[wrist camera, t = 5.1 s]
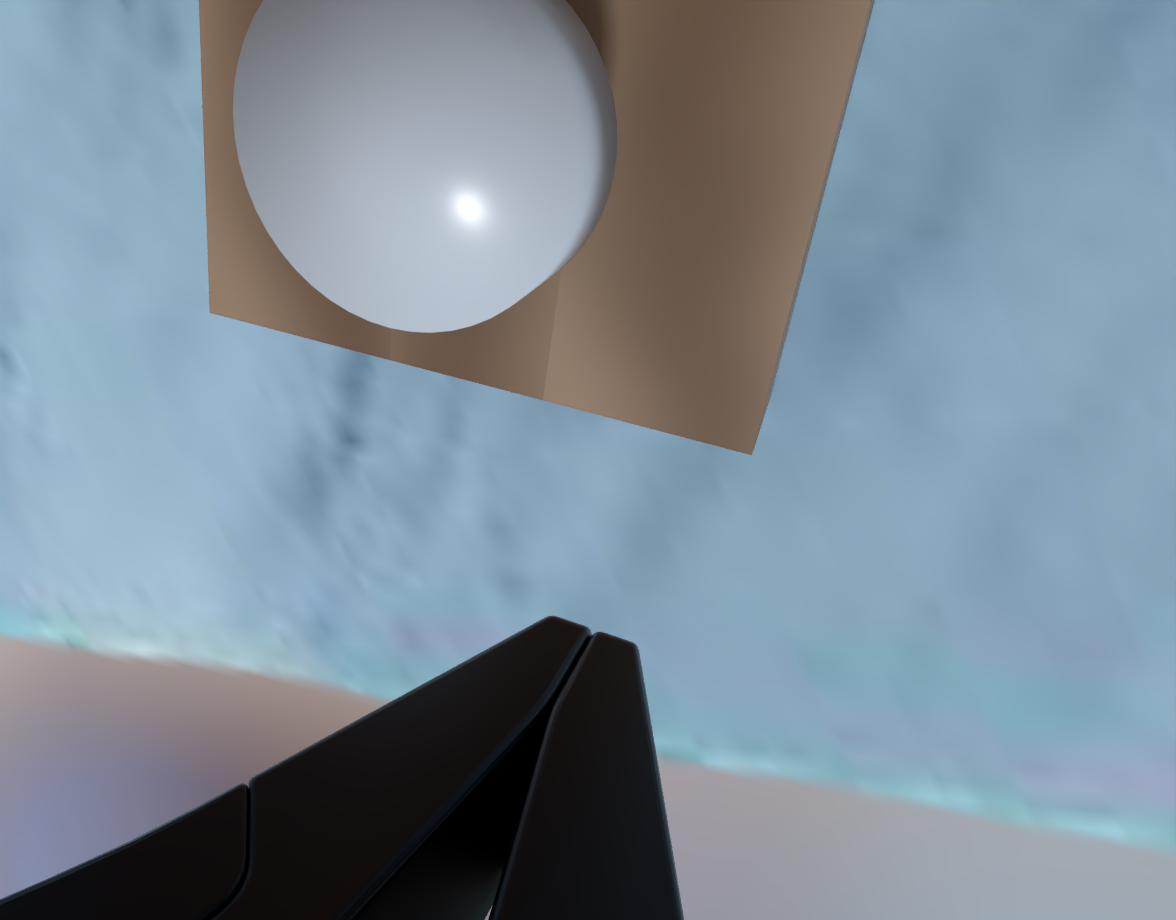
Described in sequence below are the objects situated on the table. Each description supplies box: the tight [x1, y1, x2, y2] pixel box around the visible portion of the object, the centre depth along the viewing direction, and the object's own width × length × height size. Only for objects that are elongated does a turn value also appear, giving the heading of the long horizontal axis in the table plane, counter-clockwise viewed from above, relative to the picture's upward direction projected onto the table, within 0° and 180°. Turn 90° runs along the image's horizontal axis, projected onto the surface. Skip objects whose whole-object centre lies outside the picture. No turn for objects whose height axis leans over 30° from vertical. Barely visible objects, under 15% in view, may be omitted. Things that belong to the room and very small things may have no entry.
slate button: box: [233, 0, 618, 333], centre depth 16 cm, size 6×6×5 cm
